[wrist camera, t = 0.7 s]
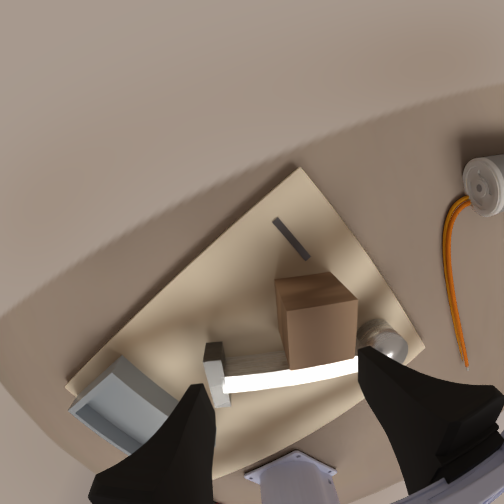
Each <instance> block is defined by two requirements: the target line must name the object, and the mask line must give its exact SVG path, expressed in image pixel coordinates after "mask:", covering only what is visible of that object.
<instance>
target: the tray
mask: <svg viewBox="0 0 504 504" xmlns="http://www.w3.org/2000/svg"><path fill="white" fill-rule="evenodd" d="M178 403H179V401H178V400H176V399H175V398H174V397H172V396H171V395H170V394H169V393H167V392H166V391H165V390H163V389H162V388H161V387H159V386H158V385H157V384H156V383H154V382H153V381H152V380H151V379H150V378H148V377H147V376H146V375H145V374H143V373H142V372H141V371H140V370H139V369H138V368H136V367H135V366H134V365H133V364H132V363H131V362H129V361H128V360H127V359H126V358H125V357H124V356H123V355H121V356H120V357H119V358H118V359H117V360H116V361H115V362H114V363H112V364H111V365H110V366H109V367H108V368H107V369H106V370H105V371H104V372H103V373H101V374H100V375H99V376H98V377H97V378H96V379H95V380H94V381H93V382H92V383H90V384H89V385H88V386H87V387H86V388H85V389H84V390H83V391H82V392H81V393H79V394H78V395H77V397H76V398H75V400H74V402H73V403H72V405H71V407H70V408H69V410H68V411H69V412H70V413H71V414H72V415H73V416H75V417H76V418H77V419H78V420H79V421H81V422H82V423H83V424H85V425H86V426H87V427H88V428H90V429H91V430H92V431H94V432H95V433H96V434H98V435H99V436H100V437H102V438H103V439H105V440H106V441H107V442H109V443H110V444H112V445H113V446H115V447H116V448H118V449H119V450H121V451H122V452H124V453H125V454H127V455H129V456H130V455H131V454H132V453H134V452H135V451H136V450H137V449H139V448H140V447H141V446H142V445H143V444H145V443H146V442H147V441H148V440H149V439H150V438H151V437H152V436H153V435H154V434H155V433H156V432H157V430H158V429H159V428H160V427H161V426H162V424H163V423H164V422H165V421H166V419H167V418H168V417H169V416H170V414H171V413H172V411H173V410H174V408H175V407H176V406H177V404H178ZM216 431H217V427H216ZM214 447H216V436H215V446H214Z"/></svg>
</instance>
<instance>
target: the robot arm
mask: <svg viewBox="0 0 504 504" xmlns="http://www.w3.org/2000/svg"><path fill="white" fill-rule="evenodd" d="M358 383H359V385H360V388H361V390H362V393H363V395H364V397H365V399H366V401H367V402H368V404H369V406H370V407H371V409H372V411H373V412H374V414H375V416H376V417H377V419H378V420H379V422H380V424H381V425H382V427H383V429H384V431H385V432H386V434H387V436H388V439H389V441H390V443H391V445H392V448H393V450H394V453H395V455H396V458H397V460H398V463H399V466H400V469H401V472H402V475H403V478H404V481H405V484H406V488H407V491H408V495H409V496H407V497H405V498H403V499H401V500H398V501H396V502H394V503H391V504H490V503H491V502H492V501H494V500H495V499H496V498H498V497H499V496H500V495H501V494H502V493H503V492H504V431H503V432H502V433H501V434H499V432H498V431H497V430H498V429H499V426H498V425H497V423H496V420H497V418H498V416H499V414H500V412H501V410H502V408H503V406H504V395H503V394H502V393H501V392H500V391H499V390H498V389H497V388H495V387H494V386H493V385H468V384H460V383H454V382H449V381H445V380H441V379H437V378H434V377H431V376H428V375H425V374H422V373H420V372H418V371H415V370H413V369H411V368H409V367H407V366H405V365H403V364H401V363H399V362H397V361H395V360H393V359H392V358H390V357H388V356H386V355H385V354H383V353H381V352H380V351H378V350H376V349H375V348H373V347H371V346H367V347H363V348H360V349H358ZM215 436H216V416H215V410H214V408H213V406H212V403H211V401H210V399H209V396H208V394H207V391H206V389H205V387H204V384H203V383H199V384H191V385H190V386H189V387H188V389H187V390H186V392H185V393H184V395H183V397H182V398H181V400H180V401H179V403H178V404H177V406H176V407H175V408H174V410H173V411H172V413H171V414H170V416H169V417H168V418H167V419H166V421H165V422H164V423H163V424H162V426H161V427H160V428H159V429H158V430H157V432H156V433H155V434H154V435H153V436H152V437H151V438H150V439H149V440H148V441H147V442H146V443H145V444H143V445H142V446H141V447H140V448H139V449H137V450H136V451H135V452H134V453H132V454H131V455H130V456H128V457H127V458H125V459H124V460H122V461H121V462H119V463H118V464H116V465H114V466H112V467H110V468H109V469H107V470H105V471H103V472H101V473H98V474H96V476H95V478H94V481H93V484H92V486H91V489H90V492H89V495H88V498H89V500H90V501H91V502H92V504H214V503H213V487H212V466H213V456H214V446H215ZM336 473H337V470H335V469H333V468H331V467H329V466H327V465H325V464H323V463H321V462H319V461H317V460H315V459H313V458H311V457H309V456H308V455H306V454H304V453H302V452H300V451H297V450H296V451H293V452H291V453H289V454H287V455H285V456H283V457H281V458H279V459H277V460H275V461H273V462H271V463H269V464H266V465H264V466H262V467H260V468H258V469H255V470H253V471H251V472H248V473H246V474H244V478H246V479H248V480H250V481H253V482H255V483H257V484H260V489H261V499H262V504H340V502H339V499H338V496H337V492H336V489H335V486H334V483H333V479H332V476H333V475H335V474H336Z"/></svg>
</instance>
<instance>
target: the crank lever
mask: <svg viewBox="0 0 504 504" xmlns="http://www.w3.org/2000/svg"><path fill="white" fill-rule="evenodd" d="M367 346H371V347H373V348H375V349H376V350H378V351H380V352H381V353H383V354H385V355H386V356H388V357H390V358H392V359H393V360H395V361H397V362H399V363H401V364H403V362H404V361H405V359H406V357H407V354H408V344H407V342H406V340H405V339H404V338H403V337H402V336H401V335H400V334H399V333H398V332H397V331H396V330H395V329H394V328H393V327H392V326H391V325H390V324H389V323H388V322H387V321H385V320H383V319H373V320H370V321H368V322H366V323H365V324H363V325H362V326H361V327H360V328H359V329H358V330H357V333H356V347H355V359H350V360H346V361H341V362H337V363H332V364H327V365H322V366H317V367H311V368H306V369H300V370H294V371H290V369H289V365H288V362H287V358H286V355H285V351H284V350H283V351H276V352H269V353H261V354H253V355H245V356H235V357H225V352H224V347H223V342H222V341H220V342H209V343H206V345H205V351H204V357H203V365H204V369H205V373H206V377H207V381H208V384H209V388H210V392H211V395H212V399H213V403H214V406H215V408H221V407H231V393H234V392H245V391H254V390H262V389H270V388H277V387H284V386H291V385H297V384H302V383H308V382H313V381H319V380H324V379H329V378H333V377H338V376H342V375H347V374H351V373H355V372H358V349H360V348H363V347H367Z"/></svg>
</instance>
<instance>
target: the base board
mask: <svg viewBox="0 0 504 504" xmlns="http://www.w3.org/2000/svg"><path fill="white" fill-rule="evenodd" d="M325 272H331V273H332V274H333V275H334V276H335V277H336V278H337V279H338V280H339V281H340V282H341V283H342V284H343V285H344V286H345V287H346V288H347V289H348V290H349V291H350V292H351V293H352V294H353V295H354V296H355V297H356V298H357V299H358V315H357V330H358V329H359V328H360V327H361V326H362V325H363V324H365V323H366V322H368V321H370V320H373V319H383V320H385V321H387V322H388V323H389V324H390V325H391V326H392V327H393V328H394V329H395V330H396V331H397V332H398V333H399V334H400V335H401V336H402V337H403V338H404V339H405V340H406V342H407V344H408V354H407V357H406V359H405V361H404V362H403V365H405V366H406V365H407V364H408V363H409V362H410V361H411V360H412V359H413V358H415V357H416V356H417V355H418V354H419V353H420V352H421V351H422V350H423V349H424V348H425V346H424V344H423V342H422V341H421V339H420V337H419V335H418V334H417V332H416V330H415V329H414V327H413V325H412V323H411V322H410V320H409V318H408V317H407V315H406V313H405V312H404V310H403V308H402V307H401V305H400V304H399V302H398V300H397V299H396V297H395V296H394V294H393V292H392V291H391V289H390V288H389V286H388V285H387V283H386V282H385V280H384V279H383V277H382V276H381V274H380V273H379V271H378V270H377V268H376V267H375V265H374V264H373V262H372V261H371V259H370V258H369V256H368V255H367V253H366V252H365V251H364V249H363V248H362V246H361V245H360V243H359V242H358V241H357V239H356V238H355V237H354V235H353V234H352V232H351V231H350V230H349V228H348V227H347V226H346V224H345V223H344V222H343V220H342V219H341V218H340V216H339V215H338V214H337V212H336V211H335V210H334V208H333V207H332V206H331V204H330V203H329V202H328V201H327V199H326V198H325V197H324V195H323V194H322V193H321V192H320V190H319V189H318V188H317V187H316V185H315V184H314V183H313V182H312V181H311V179H310V178H309V177H308V176H307V174H306V173H305V172H304V171H303V170H302V168H301V167H299V168H297V169H296V170H295V171H294V172H292V173H291V174H290V175H289V176H288V177H286V178H285V179H284V180H283V181H282V182H281V183H279V184H278V185H277V186H276V187H275V188H274V189H272V190H271V191H270V192H269V193H268V194H267V195H265V196H264V197H263V198H262V199H261V200H260V201H259V202H257V203H256V204H255V205H254V206H253V207H252V208H251V209H249V210H248V211H247V212H246V213H245V214H244V215H243V216H241V217H240V218H239V219H238V220H237V221H236V222H235V223H234V224H232V225H231V226H230V227H229V228H228V229H227V230H226V231H225V232H224V233H222V234H221V235H220V236H219V237H218V238H217V239H216V240H215V241H214V242H212V243H211V244H210V245H209V246H208V247H207V248H206V249H205V250H204V251H203V252H201V253H200V254H199V255H198V256H197V257H196V258H195V259H194V260H193V261H192V262H191V263H189V264H188V265H187V266H186V267H185V268H184V269H183V270H182V271H181V272H180V273H179V274H178V275H177V276H175V277H174V278H173V279H172V280H171V281H170V282H169V283H168V284H167V285H166V286H165V287H164V288H163V289H162V290H161V291H159V292H158V293H157V294H156V295H155V296H154V297H153V298H152V299H151V300H150V301H149V302H148V303H147V304H146V305H145V306H144V307H143V308H142V309H141V310H140V311H139V312H138V313H137V314H135V315H134V316H133V317H132V318H131V319H130V320H129V321H128V322H127V323H126V324H125V325H124V326H123V327H122V328H121V329H120V330H119V331H118V332H117V333H116V334H115V335H114V336H113V337H112V338H111V339H110V340H109V341H108V342H107V343H106V344H105V345H104V346H103V347H102V348H101V349H100V350H99V351H98V352H97V353H96V354H95V355H94V356H93V357H92V358H91V359H90V360H89V361H88V362H87V363H86V364H85V365H84V366H83V367H82V368H81V369H80V370H79V371H78V372H77V373H76V375H75V376H74V377H73V378H72V379H71V380H70V381H69V382H68V383H67V384H66V386H65V388H66V389H67V390H68V391H69V392H70V393H72V394H73V395H74V396H75V397H77V395H78V394H79V393H81V392H82V391H83V390H84V389H85V388H86V387H87V386H88V385H89V384H90V383H92V382H93V381H94V380H95V379H96V378H97V377H98V376H99V375H100V374H101V373H103V372H104V371H105V370H106V369H107V368H108V367H109V366H110V365H111V364H112V363H114V362H115V361H116V360H117V359H118V358H119V357H120V356H121V355H123V356H124V357H125V358H126V359H127V360H128V361H129V362H131V363H132V364H133V365H134V366H135V367H136V368H138V369H139V370H140V371H141V372H142V373H143V374H145V375H146V376H147V377H148V378H150V379H151V380H152V381H153V382H154V383H156V384H157V385H158V386H159V387H161V388H162V389H163V390H165V391H166V392H167V393H169V394H170V395H171V396H172V397H174V398H175V399H176V400H178V401H180V400H181V398H182V397H183V395H184V393H185V392H186V390H187V389H188V387H189V386H190V385H191V384H199V383H203V384H204V387H205V389H206V391H207V394H208V396H209V399H210V401H211V403H212V406H213V408H214V410H215V416H216V427H217V431H216V447H214V456H213V466H212V480H214V479H217V478H219V477H222V476H224V475H227V474H230V473H232V472H234V471H237V470H239V469H242V468H244V467H246V466H249V465H251V464H253V463H255V462H257V461H260V460H262V459H264V458H266V457H268V456H270V455H272V454H274V453H276V452H278V451H280V450H282V449H284V448H286V447H288V446H289V445H291V444H293V443H295V442H297V441H299V440H300V439H302V438H304V437H306V436H307V435H309V434H311V433H313V432H314V431H316V430H318V429H319V428H321V427H323V426H324V425H326V424H327V423H329V422H330V421H332V420H334V419H335V418H337V417H338V416H340V415H341V414H343V413H344V412H346V411H347V410H349V409H350V408H352V407H353V406H354V405H356V404H357V403H359V402H360V401H361V400H363V399H364V398H365V397H364V395H363V393H362V390H361V388H360V385H359V383H358V372H355V373H351V374H347V375H342V376H338V377H333V378H329V379H324V380H319V381H313V382H308V383H302V384H297V385H291V386H284V387H277V388H270V389H262V390H254V391H245V392H234V393H231V407H221V408H215V406H214V403H213V399H212V395H211V392H210V388H209V384H208V381H207V377H206V373H205V369H204V365H203V357H204V351H205V345H206V343H209V342H220V341H222V342H223V347H224V352H225V357H235V356H245V355H253V354H261V353H269V352H276V351H283V350H284V348H283V344H282V341H281V337H280V334H279V330H278V318H277V306H276V294H275V283H274V279H281V278H288V277H296V276H303V275H311V274H318V273H325Z"/></svg>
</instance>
